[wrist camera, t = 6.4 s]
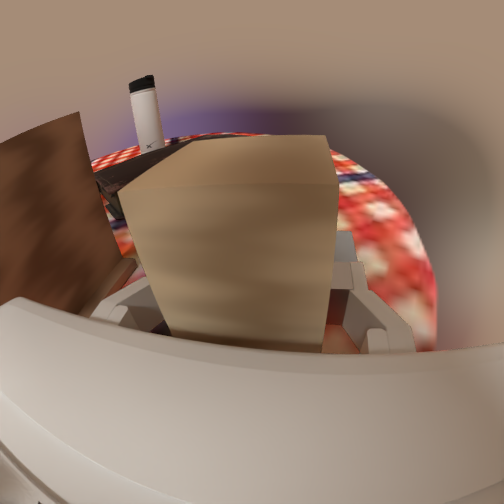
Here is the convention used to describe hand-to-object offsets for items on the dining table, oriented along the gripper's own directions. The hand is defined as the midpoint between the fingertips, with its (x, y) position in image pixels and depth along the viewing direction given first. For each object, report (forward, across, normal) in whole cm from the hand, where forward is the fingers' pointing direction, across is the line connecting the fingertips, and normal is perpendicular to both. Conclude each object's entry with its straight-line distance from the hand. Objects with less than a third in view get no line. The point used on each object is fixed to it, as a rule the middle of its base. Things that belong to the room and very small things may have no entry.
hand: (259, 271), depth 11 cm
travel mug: (+49, +35, +6) cm, 61 cm away
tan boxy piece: (-1, 0, +6) cm, 6 cm away
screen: (+1, +15, +6) cm, 16 cm away
